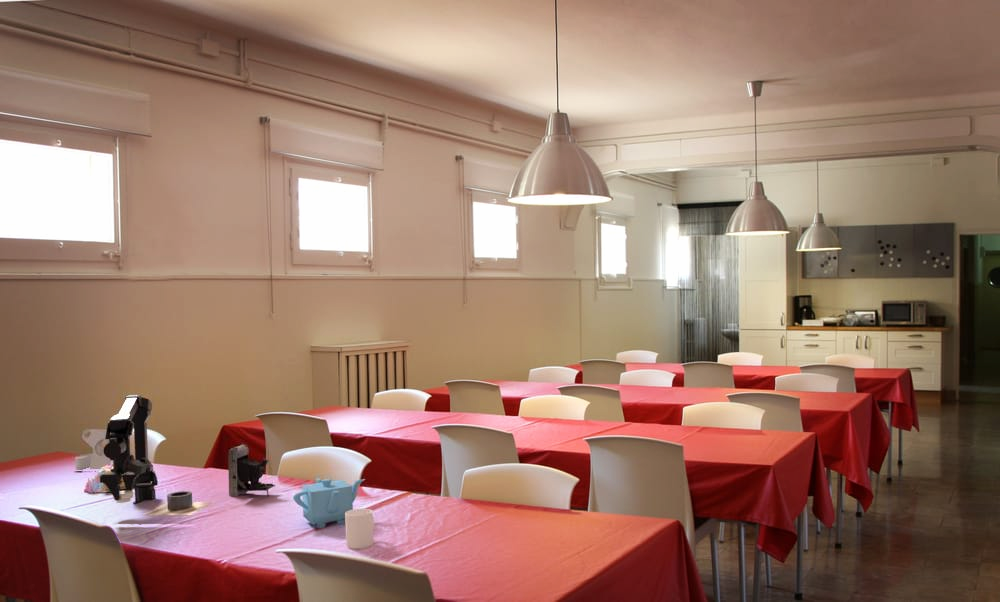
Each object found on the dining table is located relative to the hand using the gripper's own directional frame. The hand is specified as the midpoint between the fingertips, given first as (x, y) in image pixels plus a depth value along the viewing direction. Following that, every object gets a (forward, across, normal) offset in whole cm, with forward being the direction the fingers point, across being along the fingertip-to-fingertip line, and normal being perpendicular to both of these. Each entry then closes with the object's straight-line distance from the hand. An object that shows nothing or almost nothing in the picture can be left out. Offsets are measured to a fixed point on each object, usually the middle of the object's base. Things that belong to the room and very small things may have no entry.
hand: (123, 497), depth 296 cm
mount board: (+8, +12, -14) cm, 20 cm away
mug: (+9, -26, -94) cm, 98 cm away
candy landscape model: (+9, +52, +36) cm, 64 cm away
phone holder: (+9, +86, +65) cm, 108 cm away
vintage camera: (+9, +34, -33) cm, 48 cm away
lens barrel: (+7, +13, -14) cm, 20 cm away
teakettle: (+9, -2, -76) cm, 77 cm away
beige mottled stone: (+1, 0, 0) cm, 1 cm away
